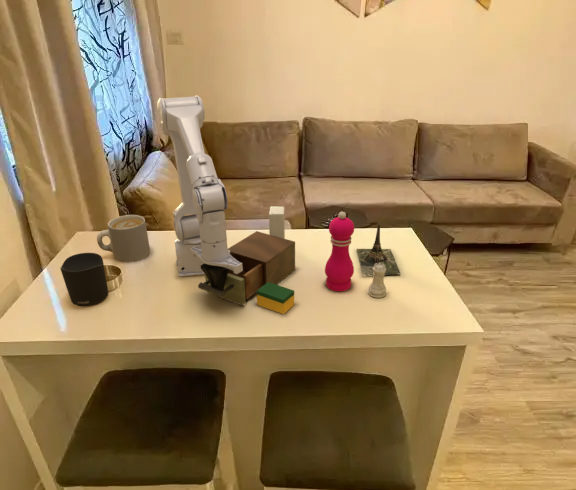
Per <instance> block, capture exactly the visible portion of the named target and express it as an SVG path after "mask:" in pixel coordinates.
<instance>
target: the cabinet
mask: <svg viewBox="0 0 576 490" xmlns="http://www.w3.org/2000/svg"><path fill="white" fill-rule="evenodd" d="M227 248H228V250H230V254H233V255H236V256H239V257H242V258H246V259H249V260H252V261H255V262H258V263H262V264H264V285H265V284H266V283H267V282H270V283H273V284H276V285H278V284H279V283H280V282H281V281H283V280H284V279H285V278H286V277H289V275H290V274H292V273H293V272H294V271H296V241H294V240H291V239H287V238H285V239H284V238H280V237H276V236H273V235H270V234H269V233H265V232H261V231H257V230H256V231H254V232H253V233H251V234H249V235H248V236H246V237H245V238H243V239H241V240H239V241H238V242H236V243H234V244H233V245H231V246H230V247H227Z"/></svg>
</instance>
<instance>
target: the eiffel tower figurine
mask: <svg viewBox="0 0 576 490" xmlns="http://www.w3.org/2000/svg"><path fill="white" fill-rule="evenodd" d="M380 220H381V217H379V220H378V221H377V229H376V233H375V238H374V239H375V240H374V243H373V246H372V247H371V248H356V252H357V253H356V254H357V258H358V260H359V264H360V269H361V276H362V277H363V278H364V277H365V278H366V277H374V275H373V273H374V270H373V267H374V265H375V264H376V263H377V265H378V264H379V263H381V265H382V264H384V265H385V268H386V271H385V272H384V274H385V276H387V275H388V276H389V275H401V270H400V269H399V267H398V264H397V261H396V258H395V256H394V253H393V252H392V249H391V248H382V246H381V245H382V244H381V221H380Z"/></svg>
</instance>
